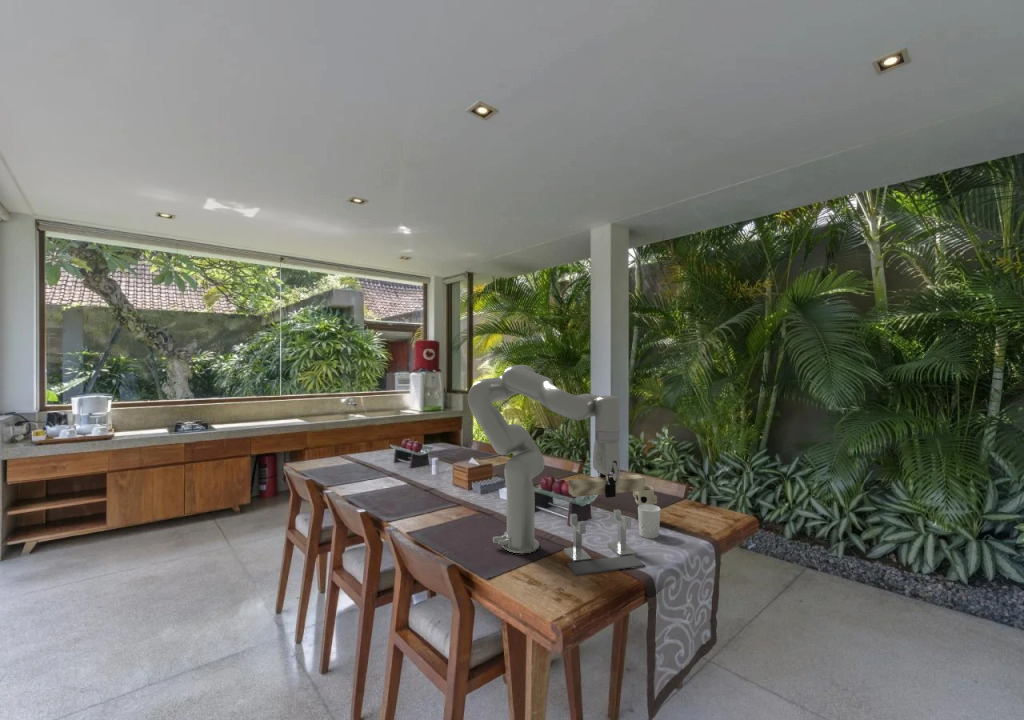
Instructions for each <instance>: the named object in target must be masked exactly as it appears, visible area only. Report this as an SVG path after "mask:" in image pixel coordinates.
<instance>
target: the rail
mask: <svg viewBox="0 0 1024 720" xmlns="http://www.w3.org/2000/svg"><path fill="white" fill-rule="evenodd" d="M611 477H612V476H609V478H611ZM619 477H620V478H619V479H618V480H617V481H616V482H617V483H616V494H620V493H622V494H623V493H631V492H632V493H633V492H634V491H645V485H646V477H644V476H643V475H640V474H628V475H619ZM605 484H607V481H606V477H600V478H598V477H590V478H589V477H588V478H577V479H568V494H569V495H571V496H572V497H574V498H575V497H586V496H589V497H590V496H597V495H599V496H600V495H605Z"/></svg>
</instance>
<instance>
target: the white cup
mask: <svg viewBox="0 0 1024 720" xmlns="http://www.w3.org/2000/svg"><path fill="white" fill-rule="evenodd" d="M637 509H638V520H637V521H638V528H639V529H638V534H639V536H641V537H642V538H646V539H656V538H658V537H659V535H660V523H661V507H660V506H658V505H655V504H653V505H651V504H642V505H639V506H637Z"/></svg>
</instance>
